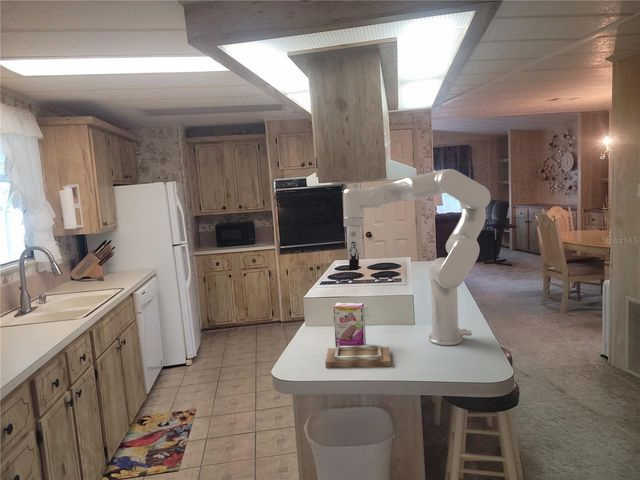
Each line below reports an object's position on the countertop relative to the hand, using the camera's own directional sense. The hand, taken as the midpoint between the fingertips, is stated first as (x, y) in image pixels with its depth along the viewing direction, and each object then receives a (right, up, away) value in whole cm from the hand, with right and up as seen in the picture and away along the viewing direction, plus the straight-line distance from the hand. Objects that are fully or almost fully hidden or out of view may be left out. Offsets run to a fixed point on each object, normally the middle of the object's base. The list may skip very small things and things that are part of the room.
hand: (354, 267), depth 162 cm
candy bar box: (-1, -31, +3) cm, 31 cm away
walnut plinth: (+1, -32, -10) cm, 33 cm away
